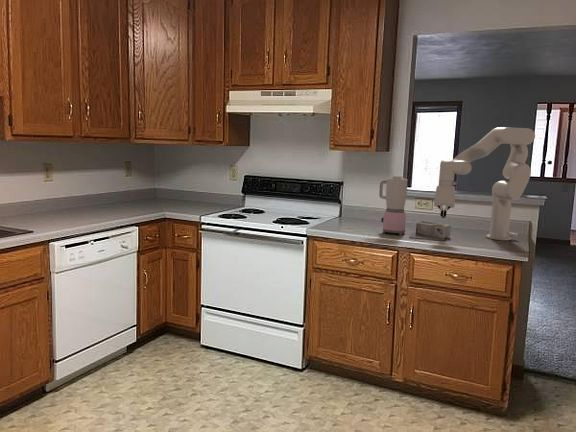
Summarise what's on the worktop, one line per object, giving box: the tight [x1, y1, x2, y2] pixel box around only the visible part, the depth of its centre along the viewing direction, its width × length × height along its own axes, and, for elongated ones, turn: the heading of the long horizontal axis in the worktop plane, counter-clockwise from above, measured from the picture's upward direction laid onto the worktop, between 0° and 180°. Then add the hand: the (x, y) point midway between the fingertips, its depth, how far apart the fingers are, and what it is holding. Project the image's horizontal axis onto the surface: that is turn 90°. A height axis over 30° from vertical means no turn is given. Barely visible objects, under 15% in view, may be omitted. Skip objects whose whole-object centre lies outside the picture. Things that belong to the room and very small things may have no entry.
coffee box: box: [415, 220, 452, 239], centre depth 269 cm, size 9×6×16 cm
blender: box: [379, 175, 409, 236], centre depth 273 cm, size 16×12×32 cm
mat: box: [409, 231, 446, 242], centre depth 267 cm, size 18×15×1 cm
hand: (443, 217), depth 263 cm, fingers closed
